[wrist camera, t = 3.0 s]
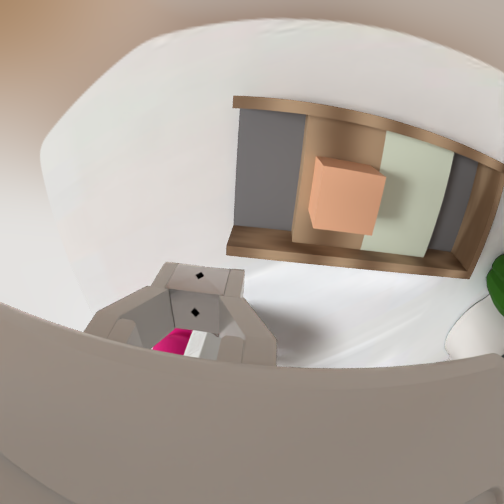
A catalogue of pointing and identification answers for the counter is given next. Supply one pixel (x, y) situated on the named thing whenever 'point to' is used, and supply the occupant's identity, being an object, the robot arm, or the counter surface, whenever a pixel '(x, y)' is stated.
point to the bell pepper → (497, 284)
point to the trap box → (393, 198)
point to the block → (345, 196)
